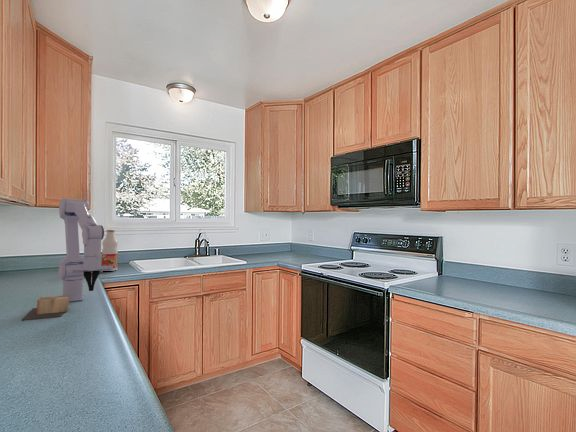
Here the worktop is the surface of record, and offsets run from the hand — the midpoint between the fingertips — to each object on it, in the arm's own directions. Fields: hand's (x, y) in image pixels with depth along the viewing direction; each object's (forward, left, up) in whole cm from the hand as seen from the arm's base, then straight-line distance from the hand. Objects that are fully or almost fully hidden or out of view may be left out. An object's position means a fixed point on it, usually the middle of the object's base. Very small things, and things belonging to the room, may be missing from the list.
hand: (91, 290), depth 124 cm
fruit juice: (-99, +4, -7) cm, 99 cm away
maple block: (0, -7, -4) cm, 9 cm away
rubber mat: (0, -14, -7) cm, 16 cm away
